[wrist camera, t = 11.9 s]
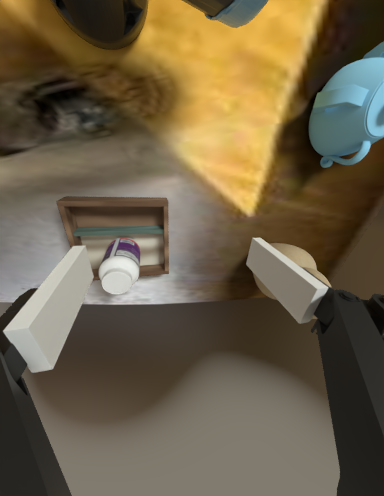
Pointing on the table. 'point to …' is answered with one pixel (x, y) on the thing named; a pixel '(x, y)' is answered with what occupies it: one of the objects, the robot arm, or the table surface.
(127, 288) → the pill bottle
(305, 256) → the vase
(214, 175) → the table surface
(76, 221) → the crate
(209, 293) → the table surface
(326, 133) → the teapot
